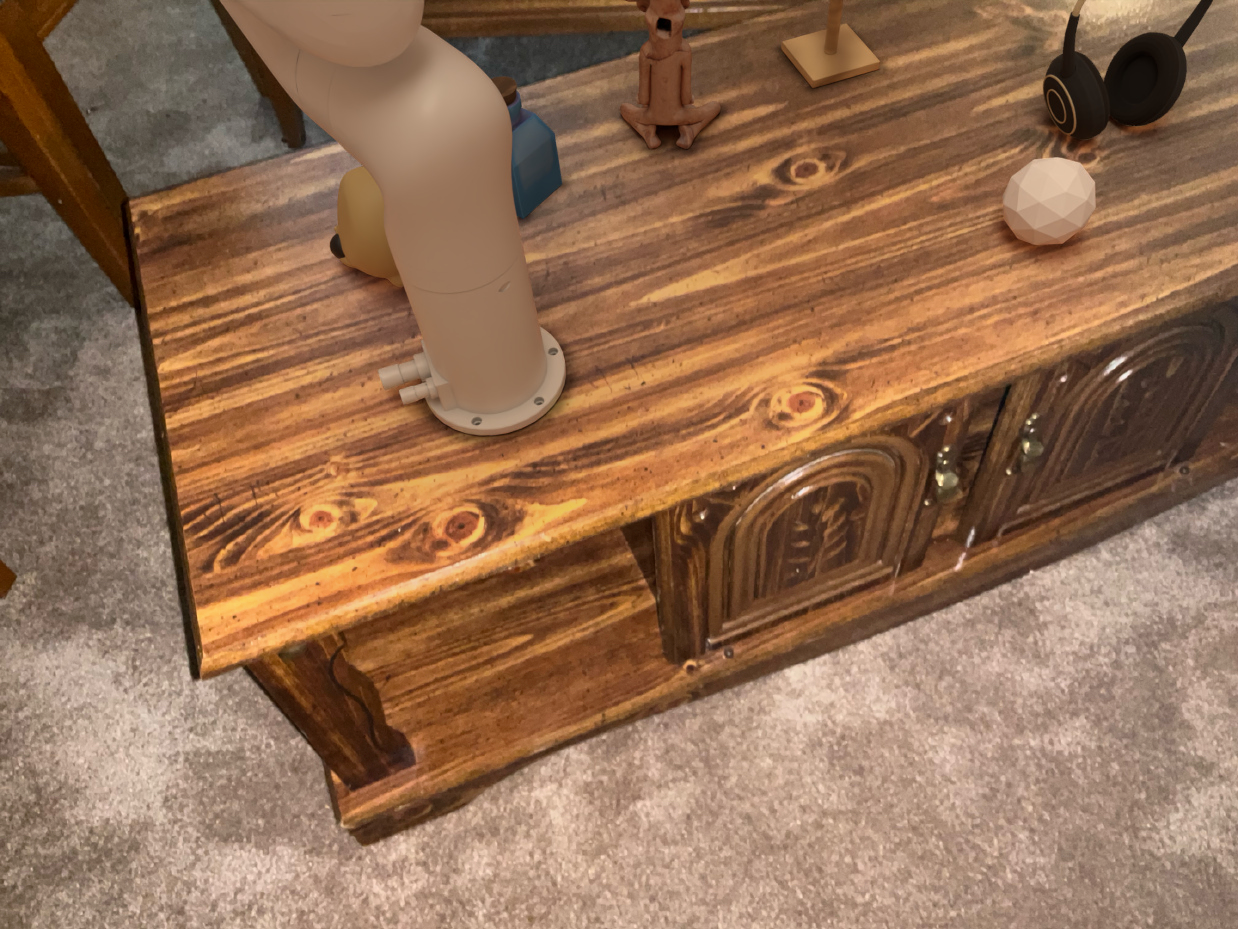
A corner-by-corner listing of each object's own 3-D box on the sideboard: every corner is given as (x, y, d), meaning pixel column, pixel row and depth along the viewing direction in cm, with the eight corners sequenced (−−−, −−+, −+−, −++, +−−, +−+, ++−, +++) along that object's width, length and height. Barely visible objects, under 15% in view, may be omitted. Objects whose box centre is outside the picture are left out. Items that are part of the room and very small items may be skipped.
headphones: (1007, 115, 99) (1069, -84, 83) (1138, 84, 100) (1224, -118, 84) (1050, 167, 94) (1125, -33, 78) (1186, 133, 96) (1288, -71, 79)
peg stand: (812, 88, 104) (823, -10, 95) (780, 49, 108) (788, -49, 99) (879, 69, 105) (896, -30, 96) (845, 30, 109) (858, -67, 100)
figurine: (721, 109, 103) (725, -82, 86) (704, 159, 99) (705, -32, 82) (627, 99, 105) (613, -90, 89) (606, 147, 101) (587, -42, 84)
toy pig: (434, 257, 99) (359, 175, 96) (480, 215, 88) (398, 122, 86) (369, 317, 94) (288, 233, 91) (409, 280, 84) (320, 184, 81)
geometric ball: (1004, 254, 92) (970, 187, 88) (1073, 201, 91) (1042, 131, 88) (1053, 273, 85) (1019, 201, 82) (1129, 216, 85) (1097, 140, 81)
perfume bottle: (523, 218, 96) (502, 115, 86) (477, 196, 98) (452, 93, 88) (562, 183, 98) (546, 79, 88) (516, 162, 101) (496, 58, 91)
